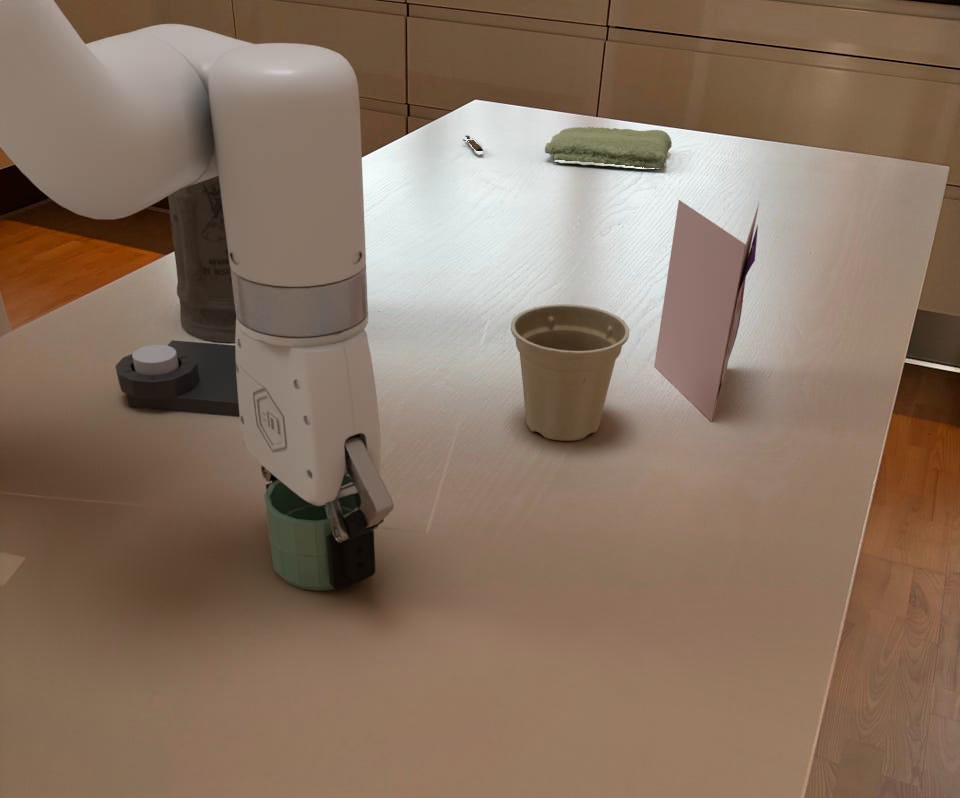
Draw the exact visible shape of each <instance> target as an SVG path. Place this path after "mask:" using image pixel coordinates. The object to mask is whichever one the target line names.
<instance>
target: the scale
mask: <svg viewBox="0 0 960 798" xmlns="http://www.w3.org/2000/svg"><path fill="white" fill-rule="evenodd" d="M166 346H170V347H172V348H174V349H175V350H176V352H177V358H178V364H179V368H178V369H177V370H175V371H173V372H170V373H168V374H162V375H155V376H151V375H141V374H139V373H136V371H135V368H134V362H133V357H132V354H133V353H131V354H127V355H125V356H124V357H122V358H121V359H120V360H119V361H118V362H117V363H116V364H115V371H116V376H117V380H118V385H119V388H120V390H121V392H122V393H124V394H125V395H126V401H127V404H128V408H132V409H133V408H134V409H144V410H154V411H168V412H177V413H191V414H202V415H214V416H225V417H238V418H240V414H239V403H238V391H237V377H236V357H235V344H223V343H222V344H221V343H211V342H199V341H185V340H174V339H172V340H170V342H169V343H168V344H166Z"/></svg>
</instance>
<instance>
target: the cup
mask: <svg viewBox="0 0 960 798" xmlns="http://www.w3.org/2000/svg"><path fill="white" fill-rule="evenodd" d="M271 483H272V482H271ZM349 483H352V479H351V477H350V475H349V474H347V475H345V476H344V477H343V480H342V484H341V486H343V485H346V484H349ZM263 502H264V510H265V517H266V526H267V527H266V528H267V534H268V542H269V543H268V544H269V551H270V552H269V553H270V558H271V564H272V568H273V570H274V571H275V572H276V573H277V574H278V575H279V577H281V578H282V579H283V580H284V581H285V582H286V583H288V584H290V585H292V586H294V587H296V588H300V589H304V590H308V591H331V590H335V589H334V588H333V587H332V586H331V585H330V578H329V565H328V553H327V540H326V537H327V536H329V535H331V534H332V531H331V527H330V524H329V521H328V518H327V515H326V511H325V508H324V505H322V506H316V505H313V504H310V503H308V502H307V501H305V500H304V499H302V498H301V497H300V496H298V495H297V494H296V493H294V492H293V491H292V490H291V489H290V488H288V487H287V486H286V485H285V484H283V483H282V482H281V481H280V480H279V479H278V480H276V481H275V482H273V483H272V484H270V485H269V487H268V489H267V490H266V491H265V492H264V495H263ZM339 503H340V507H341V510H342V513H343V517H344V519H345V518H346V517H347V516H348V515H350V514H351V513H352V512H354V511H357V510H358V507H357V504H356V500H355V497H354V495H351V496H348V497H346V498H343V499H340V500H339Z"/></svg>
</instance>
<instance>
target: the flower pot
mask: <svg viewBox="0 0 960 798" xmlns="http://www.w3.org/2000/svg"><path fill="white" fill-rule="evenodd" d="M510 331H511V334H512V337H514V338H515V339H514V340H515V347H516V348H517V351H518V352H519V360H520V367H521V368H520V370H521V379H522V390H523V399H524V400H523V402H524V415H525V423H526V426H527V427H528V429H529V430H530V431H531V432H532V433H535V432H538V433H539V434H540V435H542V436H543V437H544V438H545V439H548V440H552V441H553V440H554V441H561V442H562V441H564V442H565V441H567V442H569V441H580V440H583V439H584V438H586V437H587V436H588V435H590V434H595V433H596V432H597V431H598V430H599V427H600V424H601V419H602V414H603V411H604V406H605V402H606V400H607V395H608V392H609V387H610V383H611V380H612V376H613V371H614V367H615V363H616V360H617V359H618V358H619V356H620V354H621V352H622V349H623V345H625V344H626V343H627V341H628V339H629V337H630V328H629V325H627V323H626V322H625V321H624V320H623V319H622V318H621V317H619V315H616V314H613V313H612V312H609V311H607V310H604V309H600V308H597V307H593V306H589V305H581V304H570V303H569V304H568V303H566V304H565V303H564V304H561V303H559V304H557V303H556V304H545V305H540V306H535V307H532V308H529V309H526V310H523V311H521V312H519V313H517V314H516V315H515V316H514V317H513V318H512V320H511V322H510Z"/></svg>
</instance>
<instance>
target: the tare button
mask: <svg viewBox="0 0 960 798" xmlns="http://www.w3.org/2000/svg"><path fill="white" fill-rule="evenodd" d="M131 354H132V357H133V362H134V368H135V371H136V373H139V374H141V375H151V376H155V375H162V374H168V373H170V372H173V371H175V370H177V369H178V368H179V364H178V358H177V352H176V350H175V349H174V348H172V347H170V346H167V344H150V345H149V344H148V345H145V346H142V347H139V348H136V350H134V351H133V352H132V353H131Z"/></svg>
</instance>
